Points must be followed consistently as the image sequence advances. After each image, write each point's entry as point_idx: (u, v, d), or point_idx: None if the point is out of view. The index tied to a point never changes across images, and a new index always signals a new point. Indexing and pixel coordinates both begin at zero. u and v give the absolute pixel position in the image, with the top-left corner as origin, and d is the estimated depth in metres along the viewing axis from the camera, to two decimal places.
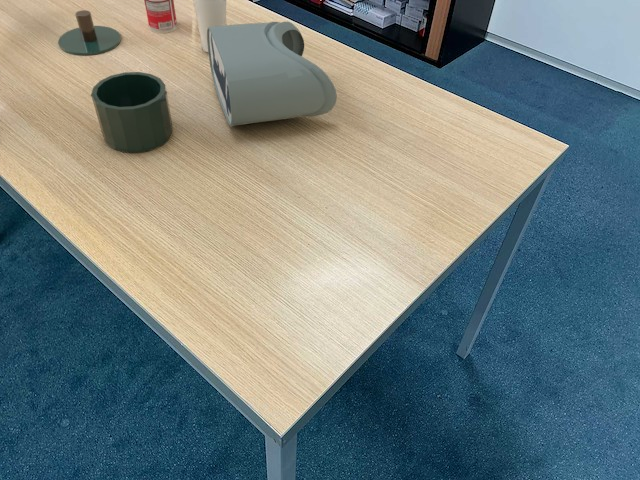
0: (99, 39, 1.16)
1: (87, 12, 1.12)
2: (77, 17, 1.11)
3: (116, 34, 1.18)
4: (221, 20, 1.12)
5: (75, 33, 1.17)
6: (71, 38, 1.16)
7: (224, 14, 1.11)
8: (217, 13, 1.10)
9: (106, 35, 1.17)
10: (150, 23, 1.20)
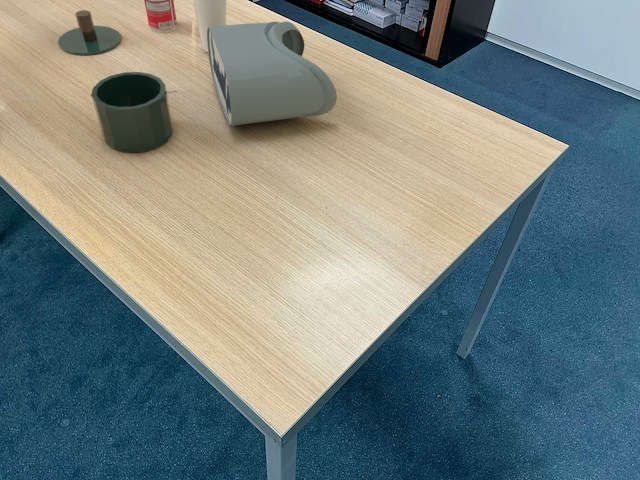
0: (99, 39, 1.16)
1: (87, 12, 1.12)
2: (77, 17, 1.11)
3: (116, 34, 1.18)
4: (221, 20, 1.12)
5: (75, 33, 1.17)
6: (71, 38, 1.16)
7: (224, 14, 1.11)
8: (217, 13, 1.10)
9: (106, 35, 1.17)
10: (150, 23, 1.20)
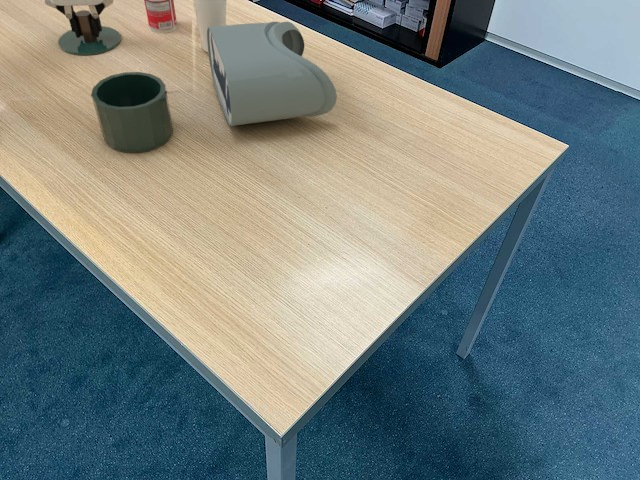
0: (99, 39, 1.16)
1: (87, 12, 1.12)
2: (77, 17, 1.11)
3: (116, 34, 1.18)
4: (221, 20, 1.12)
5: None
6: (71, 38, 1.16)
7: (224, 14, 1.11)
8: (217, 13, 1.10)
9: (106, 35, 1.17)
10: (150, 23, 1.20)
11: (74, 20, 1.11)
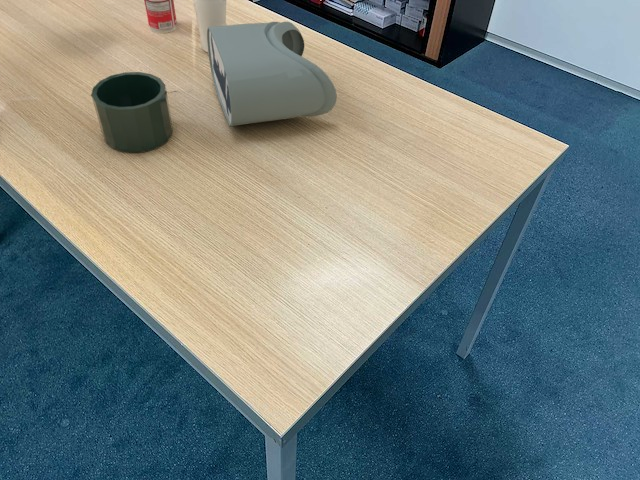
0: None
1: None
2: None
3: None
4: (221, 20, 1.12)
5: None
6: None
7: (224, 14, 1.11)
8: (217, 13, 1.10)
9: None
10: (150, 23, 1.20)
11: None
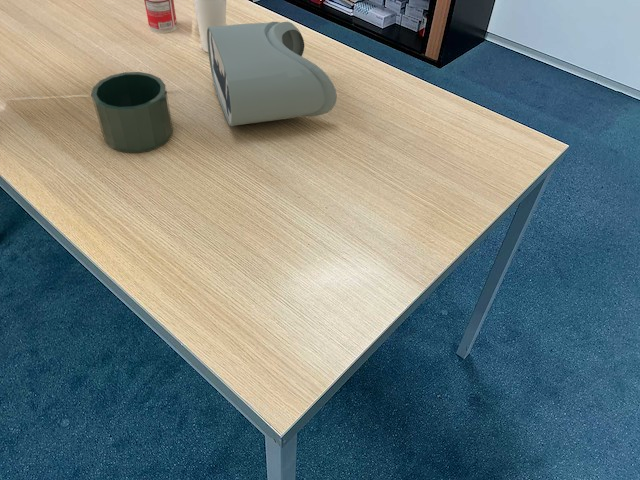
0: None
1: None
2: None
3: None
4: (221, 20, 1.12)
5: None
6: None
7: (224, 14, 1.11)
8: (217, 13, 1.10)
9: None
10: (150, 23, 1.20)
11: None
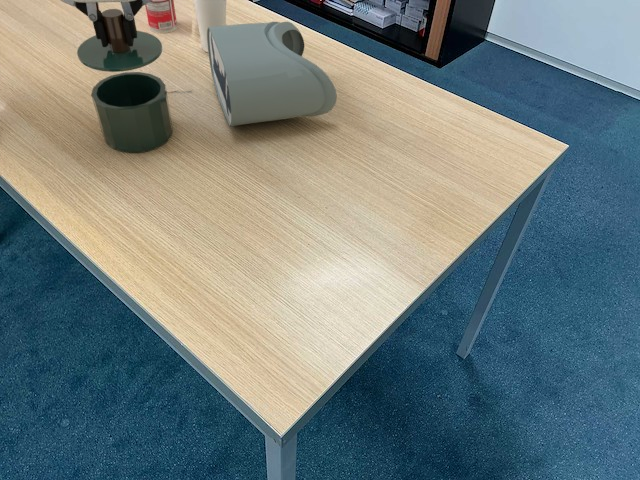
0: (133, 48, 0.84)
1: (118, 12, 0.81)
2: (104, 18, 0.80)
3: (156, 42, 0.86)
4: (221, 20, 1.12)
5: (100, 40, 0.86)
6: (95, 47, 0.84)
7: (224, 14, 1.11)
8: (217, 13, 1.10)
9: (142, 43, 0.86)
10: (150, 23, 1.20)
11: (100, 23, 0.80)
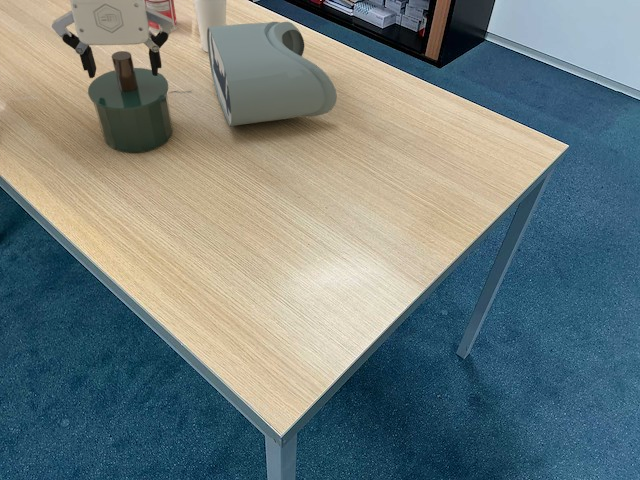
0: (140, 87, 0.89)
1: (127, 54, 0.85)
2: (114, 61, 0.84)
3: (162, 81, 0.91)
4: (221, 20, 1.12)
5: (109, 79, 0.90)
6: (104, 86, 0.89)
7: (224, 14, 1.11)
8: (217, 13, 1.10)
9: (149, 81, 0.90)
10: (150, 23, 1.20)
11: (87, 56, 0.83)
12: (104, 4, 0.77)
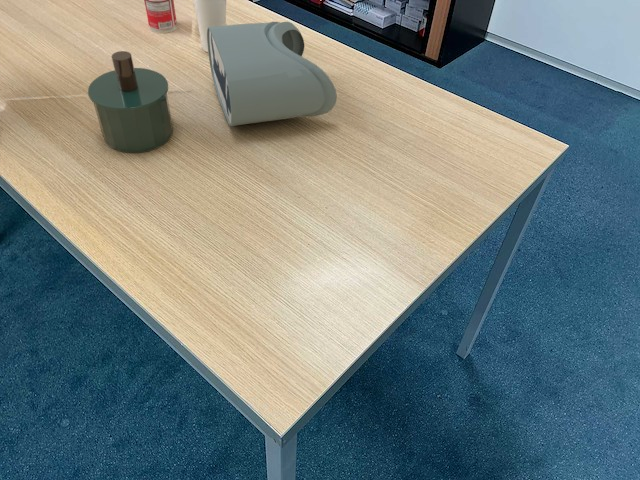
0: (140, 87, 0.89)
1: (127, 54, 0.85)
2: (114, 61, 0.84)
3: (162, 81, 0.91)
4: (221, 20, 1.12)
5: (109, 79, 0.90)
6: (104, 86, 0.89)
7: (224, 14, 1.11)
8: (217, 13, 1.10)
9: (149, 81, 0.90)
10: (150, 23, 1.20)
11: None
12: None
